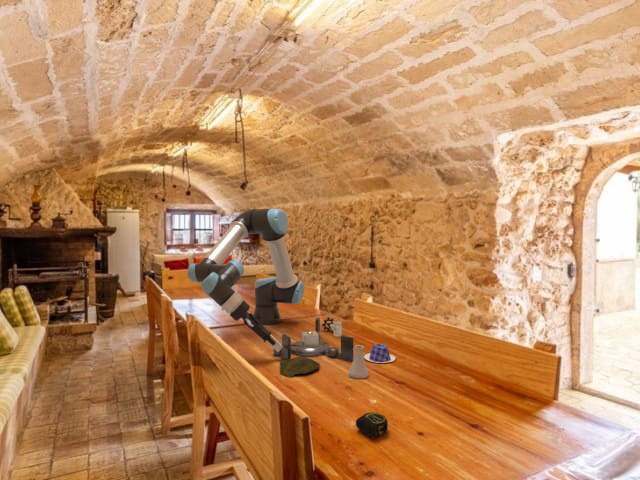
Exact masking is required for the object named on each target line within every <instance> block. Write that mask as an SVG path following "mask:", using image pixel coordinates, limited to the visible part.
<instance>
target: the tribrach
mask: <svg viewBox="0 0 640 480" xmlns="http://www.w3.org/2000/svg"><path fill="white" fill-rule="evenodd" d="M291 355H294V356H297V357H306V358H309V357H310V358H311V357H312V358H313V357H315V358H316V357H320V356H321V357H322V356H326V357H328V358H330V359H339V360H344V361H348V362H350V363H352V362H353V359H354V337H353V336H349V335H344V334H342V335H341V336H340V347H337V346H330V344H329V343H328V342H327V341H324V340H321V317H320V316H317V317H316V318H315V330H313V331H312V330H310V331H309V330H308V331H301V340H298V341H295V342H293V343H291Z"/></svg>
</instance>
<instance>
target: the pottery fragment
mask: <svg viewBox="0 0 640 480" xmlns="http://www.w3.org/2000/svg"><path fill="white" fill-rule="evenodd" d="M320 367H321V364H320V363H319V362H318V361H315V360H314V359H312V358H309V357H304V356H295V357H291V359H287V360H285V359H280V360H279V369H280V370H279V373H280V375H282V376H285V377H288V378H290V379H291V378H292V377H293V376H295V375H302V374H304V375H306V374H309V373H311V372H313V371H315V370H318V369H319V368H320Z"/></svg>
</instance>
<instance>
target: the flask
mask: <svg viewBox="0 0 640 480" xmlns="http://www.w3.org/2000/svg"><path fill="white" fill-rule="evenodd" d="M353 349H354V355H353V361H352V362H351V366H350V368H349V371H348V377H350V378H353V379H366V378H368V377H370V374H369V371H368V367H367V365H366V361H365V358H364V350H363V349H364V345H360V344H358V345H357V344H356V345H353Z"/></svg>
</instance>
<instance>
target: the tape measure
mask: <svg viewBox="0 0 640 480" xmlns="http://www.w3.org/2000/svg"><path fill="white" fill-rule="evenodd" d="M388 423H389V422H388V419H387V417H386V416H385V415H384V414H382V413H380V412H373V411H372V412H371V411H370V412H366V413H364V414H363V415H362V416H360V417H358V418H356V420H355V425H356V428H357V429H358V430H360V431H361V432H363V433H365V434H367V435H369V436H370V437H372V438H373V439H376V438H378V437H380V436H383V435H385V434H386V433H387V431H388V428H389V427H388V426H389V424H388Z"/></svg>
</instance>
